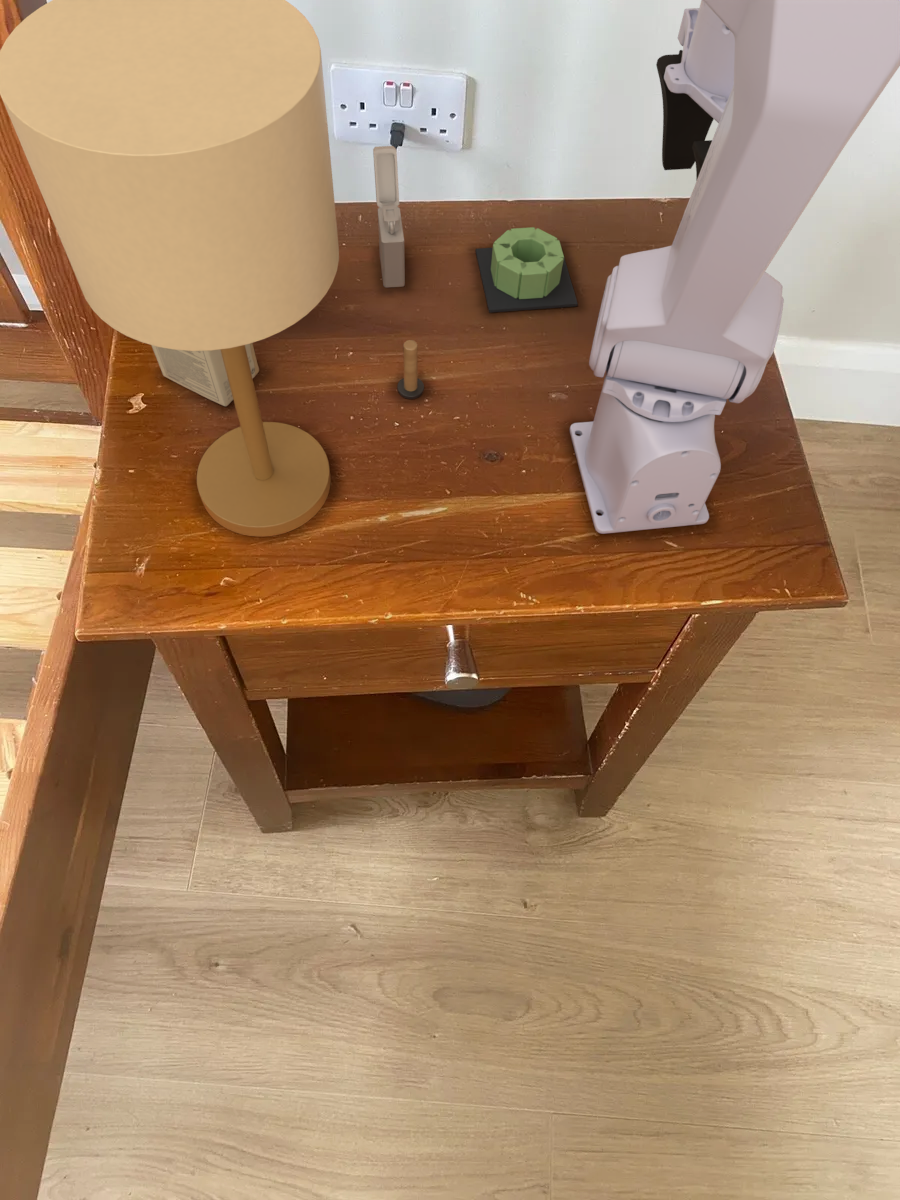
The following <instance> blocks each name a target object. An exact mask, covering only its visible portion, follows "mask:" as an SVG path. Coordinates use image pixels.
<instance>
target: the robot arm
mask: <svg viewBox="0 0 900 1200" xmlns="http://www.w3.org/2000/svg"><path fill="white" fill-rule="evenodd" d="M677 40H678V42H679V45H680V46H682V49H679V51H678V53H674V54H664V55H661V56H659V58H657V61H656V64H655V65H656V70H657V74H658V77H659V84H660V89H661V98H662V140H661V141H662V143H661V144H662V145H661V162H662V168H663V170H664V171H675V170H676V171H677V170H678V171H679V170H691V169H692V168H693V166H694V164H695V171H696V175H695V176H696V178H695V179H696V180H695V181H696V182H695V184H694V186H693V189H692V192H691V194H690V196H689V200H688V202H687V205H686V207H685V209H684V212H683V215H682V218H681V220H680V223H679V226H678V228H677V231H676V232H675V233H676V234H675V236H674V239H673V241H672V243H671V245H668V246H664V247H659V248H652V249H648V250H643V251H637V252H633V253H628V254H623V255H622V256H621V257H620V259H619V262H618V265H616V266H614V267H613V268H612V271H611V274H609V275H608V276H607V278H606V282H605V286H604V291H603V295H602V299H601V304H600V309H599V313H598V318H597V322H596V326H595V329H594V330H595V331H594V336H593V339H592V345H591V351H590V354H589V361H588V366H589V368H590V369H591V370H592V371H593V375H594V377H598V378H601V379H602V378H604V379H603V384H602V387H601V391H600V394H599V399H598V403H597V406H596V410H595V414H594V417H593V421H581V422H573V423H572V424H571V425H570V426H569V434H570V438H571V443H572V446H573V449H574V453H575V457H576V462H577V465H578V469H579V472H580V477H581V481H582V484H583V488H584V492H585V495H586V500H587V503H588V508H589V512H590V515H591V518H592V523H593V527H594V529H595V532H597V533H598V534H616V533H625V532H634V531H645V530H655V529H663V528H664V529H666V528H675V527H685V526H686V527H687V526H696V525H704V524H707V523H708V521H709V519H710V513H709V510H708V508H707V504H706V502H707V500H708V498H709V495H710V493H711V491H712V489H713V487H714V486H715V483H716V482H717V480H718V477H719V475H720V473H721V468H722V464H721V463H722V462H721V457H720V454H719V449H718V446H717V443H716V435H715V420H716V416H720V415H722V412H723V410H724V408H725V407H726V404H727V401H728V402H729V403H734V404H741V403H742V402H744V401H745V399H747V398H749V397H750V396H751V395H752V394H754V393H755V391H756V389H757V387H758V386H759V384H760V382H761V379H762V377H763V375H764V372H765V370H766V366H767V364H768V362H769V360H770V359H771V357H772V356H773V354H774V352H775V349H776V344H777V339H778V335H779V332H780V327H781V322H782V316H783V310H784V303H785V300H784V297H783V289H784V288H783V285H782V283H781V282H780V281H778V279H776V278H775V277H773V276H772V275H771V274H769V273H768V272H766V270H767V269H768V268H769V266H770V264H771V263H772V261H773V260H774V258H775V257H776V255H777V253H778V252H779V250H780V249H781V248H782V246H783V244H784V243H785V241H786V240H787V238H788V236H789V235H790V233H791V231H792V230H793V228H794V227H795V225H796V224H797V223H798V220H799V219H800V217H801V216H802V214H803V212H804V211H805V210H806V208H807V206H808V205H809V203H810V202H811V200H812V198H813V197H814V196H815V194H816V192H817V191H818V189H819V188H820V186H821V184H822V183H823V181H824V180H825V178H826V176H827V175H828V173H829V172H830V170H831V169H832V168H833V166H834V164H835V163H836V161H837V159H838V158H839V156H840V154H841V153H842V152H843V150H844V148H846V146H847V144H848V142H849V141H850V139H851V138H852V136H853V135H854V133H856V130H857V129H858V128H859V126H860V125H861V123H863V120H864V119H865V117H866V116H867V115H868V113H869V111H871V109H872V107H873V106H874V104H875V103H876V102H877V100H878V99H879V97H880V95H881V94H882V93H883V91H884V90H885V89H886V87H887V86H888V84H889V82H890V81H891V80H892V78H893V77H894V75H895V73H896V72H897V71H898V69H899V68H900V0H701V1H700V5H699V7H691V8H684V10H683V15H682V19H681V23H680V27H679V30H678V35H677ZM713 121H715V122H716V123H718V124H717V127H716V129H715V131H714V135H713V137H712V139H711V140H710V139H709V140H706V138H707V136H708V134H709V131H710V128H711V126H712V123H713ZM598 514H600V515H598Z"/></svg>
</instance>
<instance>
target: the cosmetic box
mask: <svg viewBox="0 0 900 1200" xmlns="http://www.w3.org/2000/svg"><path fill="white" fill-rule="evenodd" d="M151 348H152V351H153V353H154V356H155V358H156V360H157V364H158V366H159V368H160V370H161V374H162V376H163V377H165V378H166V379H169V380H170V381H172V382H174V383H176V384H178V385H179V386H182V387H184V388H186V389H188V390H189V391H192V392H194V393H196V394H198V395H200V396H202V397H204V398H206V399H208V400H209V401H211V402H214V403H216V404H219V405H221V406H223V407H228V406H229V405H230V404H231V403H232V402H233V401H234V400H233V396H232V392H231V388H230V384H229V381H228V377H227V373H226V369H225V365H224V362H223V358H222V354H221V350H220V349H219V350H210V351H186V350H174V349H168V348H162V347H157V346H153V345H151ZM245 348H246V352H247V356H248V361H249V365H250V370H251V374H252V378H253V379H254V378H255V377H256V376H257V375H258V373H260V367H259V364H258V361H257V356H256V352H255V347H254V342H253V343H250V344H247V345H245Z"/></svg>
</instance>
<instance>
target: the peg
mask: <svg viewBox="0 0 900 1200" xmlns="http://www.w3.org/2000/svg"><path fill="white" fill-rule="evenodd" d="M402 347H403V350H402V351H403V355H402V356H403V378H401V379H400V380H399V381H398V383H397V385H396V389H397V393H398V395H400V397H402V398H403V399H407V400H414V399H417V398H420V397H421V396H422V395H423V394H424V392H425V384H424V382H423V381H422V380H421V378H419V377H418V357H419V356H418V351H419V350H418V349H419V348H418V343H417V342H416V341H415V340H413V339H408V340H406V341H404V342H403V344H402Z"/></svg>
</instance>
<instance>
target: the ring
mask: <svg viewBox="0 0 900 1200" xmlns="http://www.w3.org/2000/svg"><path fill="white" fill-rule="evenodd" d="M560 244H561V242H560V240H559V239H558V237H556V236H554V235H553V234H550V233H548V232H547V231H544V230H542V229H540V228H538V227H537V228H536V227H535V226H532V227H516V228H510V229H507V230H506V231H505V232H504V233H502V234H501V235H500V236H499V237H498V238H497V239H496V240H495V241H493V244H492V248H493V250H492V261H491V273H492V277H493V281H494V286H497V289H499V290H501V291H503V292H505V293H507V294H508V295H510V296H512V297H514V298H517V297H519V299H532V298H543V296H545V297H546V296H547V295H548V294H549V293H550V292H551V291H552V290H553V289H554V288H555V287H556V286H557V285H558V284H559V281H560V277H561V271H562V266H563V260H564V258H565V256H564V252H563V248H562V245H560Z"/></svg>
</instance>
